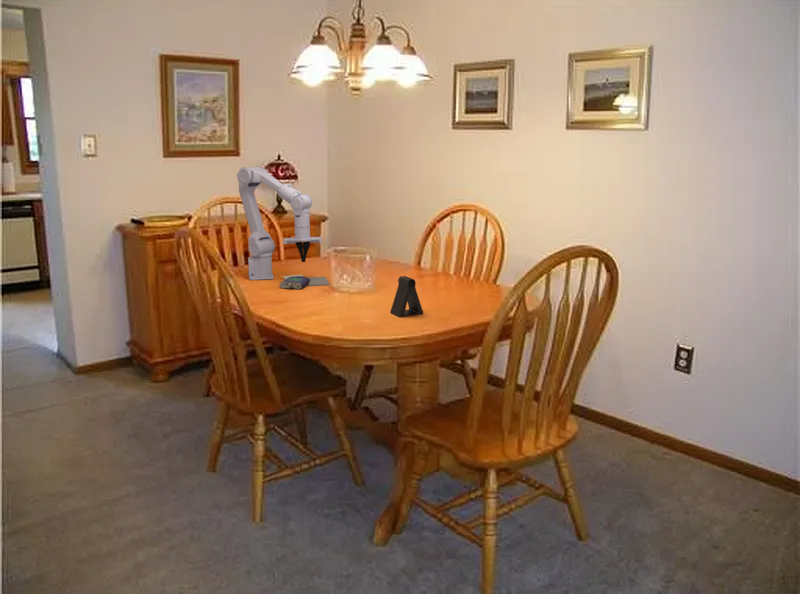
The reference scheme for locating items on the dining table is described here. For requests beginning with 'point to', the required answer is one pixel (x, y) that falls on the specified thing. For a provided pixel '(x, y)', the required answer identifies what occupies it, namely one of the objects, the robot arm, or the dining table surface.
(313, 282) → the board
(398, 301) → the phone stand
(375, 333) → the dining table surface
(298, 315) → the dining table surface
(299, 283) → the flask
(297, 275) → the napkin
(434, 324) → the dining table surface
